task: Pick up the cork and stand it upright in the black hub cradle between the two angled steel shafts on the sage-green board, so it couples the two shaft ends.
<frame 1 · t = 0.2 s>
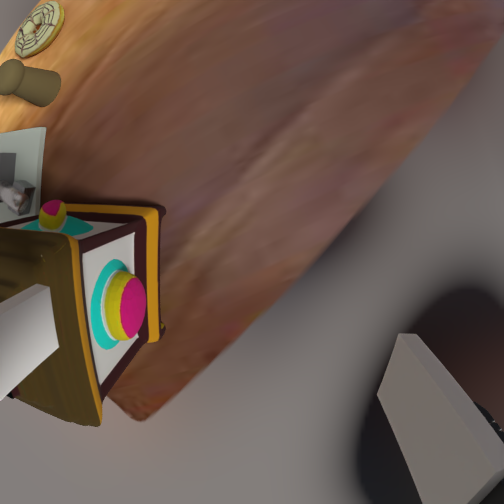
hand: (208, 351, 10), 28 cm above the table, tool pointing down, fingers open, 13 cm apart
shaft a: (27, 194, 37), resting on rig
decorative lantern: (110, 264, 39), on the table
decorated donut: (45, 32, 31), on the table
cork: (47, 89, 34), on the table
rig: (3, 182, 37), on the table
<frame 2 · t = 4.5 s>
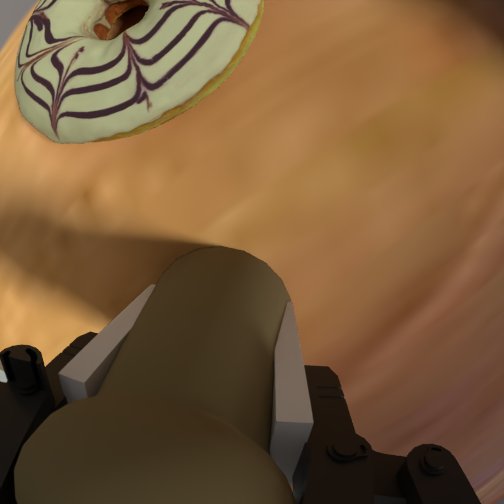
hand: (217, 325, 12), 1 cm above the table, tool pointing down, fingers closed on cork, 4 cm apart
decorated donut: (140, 38, 10), on the table
cork: (221, 315, 13), on the table, touching gripper
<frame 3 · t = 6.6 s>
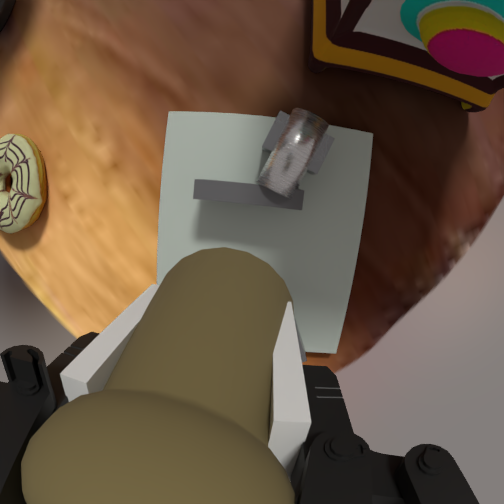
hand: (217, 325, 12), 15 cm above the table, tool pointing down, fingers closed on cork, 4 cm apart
shaft a: (289, 157, 24), resting on rig
decorative lantern: (393, 20, 21), on the table
decorated donut: (22, 182, 26), on the table
cork: (224, 314, 13), point 14 cm above the table, touching gripper
rig: (258, 236, 26), on the table
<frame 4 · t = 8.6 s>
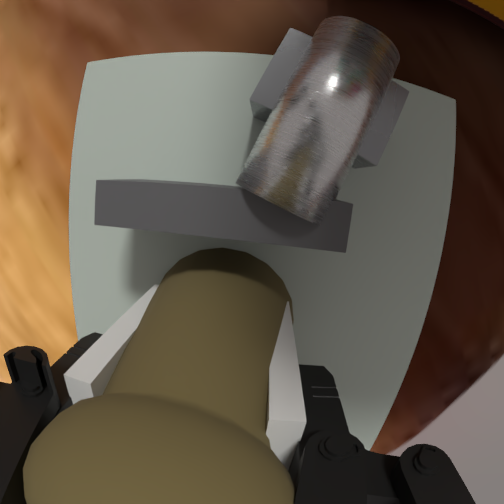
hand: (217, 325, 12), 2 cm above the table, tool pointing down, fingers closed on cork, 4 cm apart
shaft a: (306, 135, 12), resting on rig
cork: (223, 315, 13), point 1 cm above the table, touching gripper, rig
rig: (247, 286, 14), on the table
when the fingers open (2 cm above the table, at t = 8.7 s): cork stays where it is, resting on rig.
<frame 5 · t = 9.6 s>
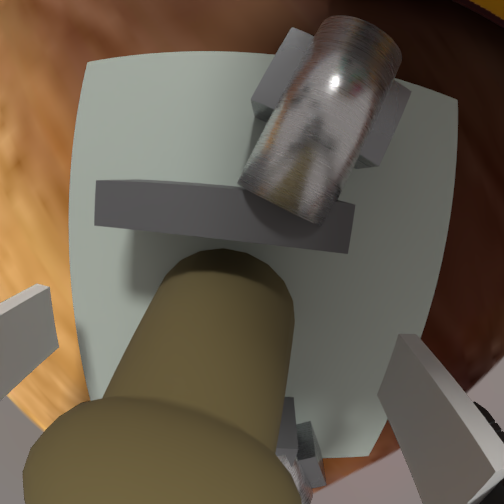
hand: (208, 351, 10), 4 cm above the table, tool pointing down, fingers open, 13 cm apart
shaft b: (273, 423, 15), resting on rig
shaft a: (307, 135, 12), resting on rig
cork: (223, 316, 13), point 1 cm above the table, touching rig
rig: (248, 287, 14), on the table
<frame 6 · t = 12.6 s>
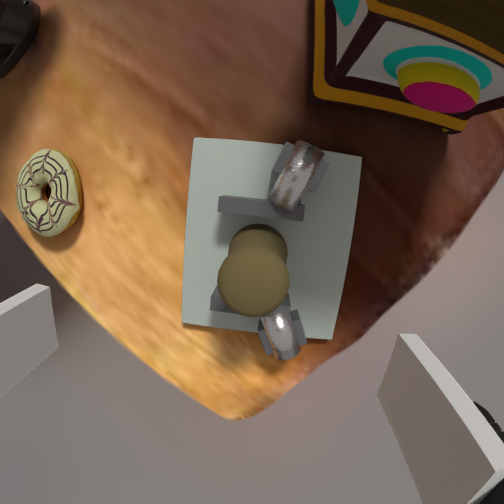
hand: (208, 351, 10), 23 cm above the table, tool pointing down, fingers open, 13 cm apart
shaft b: (279, 316, 34), resting on rig
shaft a: (292, 177, 30), resting on rig
decorative lantern: (383, 53, 27), on the table
decorated donut: (57, 191, 32), on the table
cork: (258, 252, 31), point 1 cm above the table, touching rig
rig: (267, 241, 32), on the table
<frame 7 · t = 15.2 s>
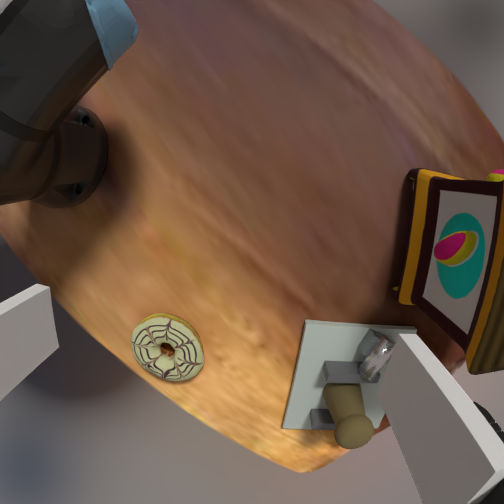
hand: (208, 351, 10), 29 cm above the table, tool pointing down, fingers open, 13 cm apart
shaft a: (369, 343, 41), resting on rig
decorative lantern: (448, 239, 37), on the table
decorated donut: (171, 341, 43), on the table
cork: (341, 389, 42), point 1 cm above the table, touching rig
rig: (347, 380, 42), on the table
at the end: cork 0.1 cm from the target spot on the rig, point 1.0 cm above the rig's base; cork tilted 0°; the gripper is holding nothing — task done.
